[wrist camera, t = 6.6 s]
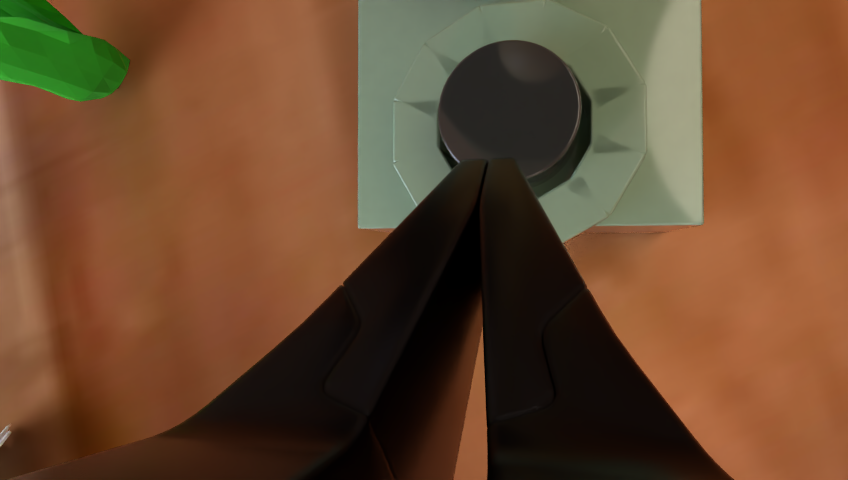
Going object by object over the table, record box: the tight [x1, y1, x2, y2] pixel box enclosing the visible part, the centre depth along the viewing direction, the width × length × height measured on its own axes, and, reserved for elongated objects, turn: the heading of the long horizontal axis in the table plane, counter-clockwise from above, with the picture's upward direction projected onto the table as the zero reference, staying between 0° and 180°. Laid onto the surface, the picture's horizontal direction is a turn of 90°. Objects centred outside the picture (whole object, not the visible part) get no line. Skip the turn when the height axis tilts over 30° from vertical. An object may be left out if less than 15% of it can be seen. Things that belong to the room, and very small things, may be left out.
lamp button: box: [438, 40, 582, 188], centre depth 13 cm, size 3×3×2 cm
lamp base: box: [358, 0, 704, 244], centre depth 17 cm, size 12×9×7 cm
